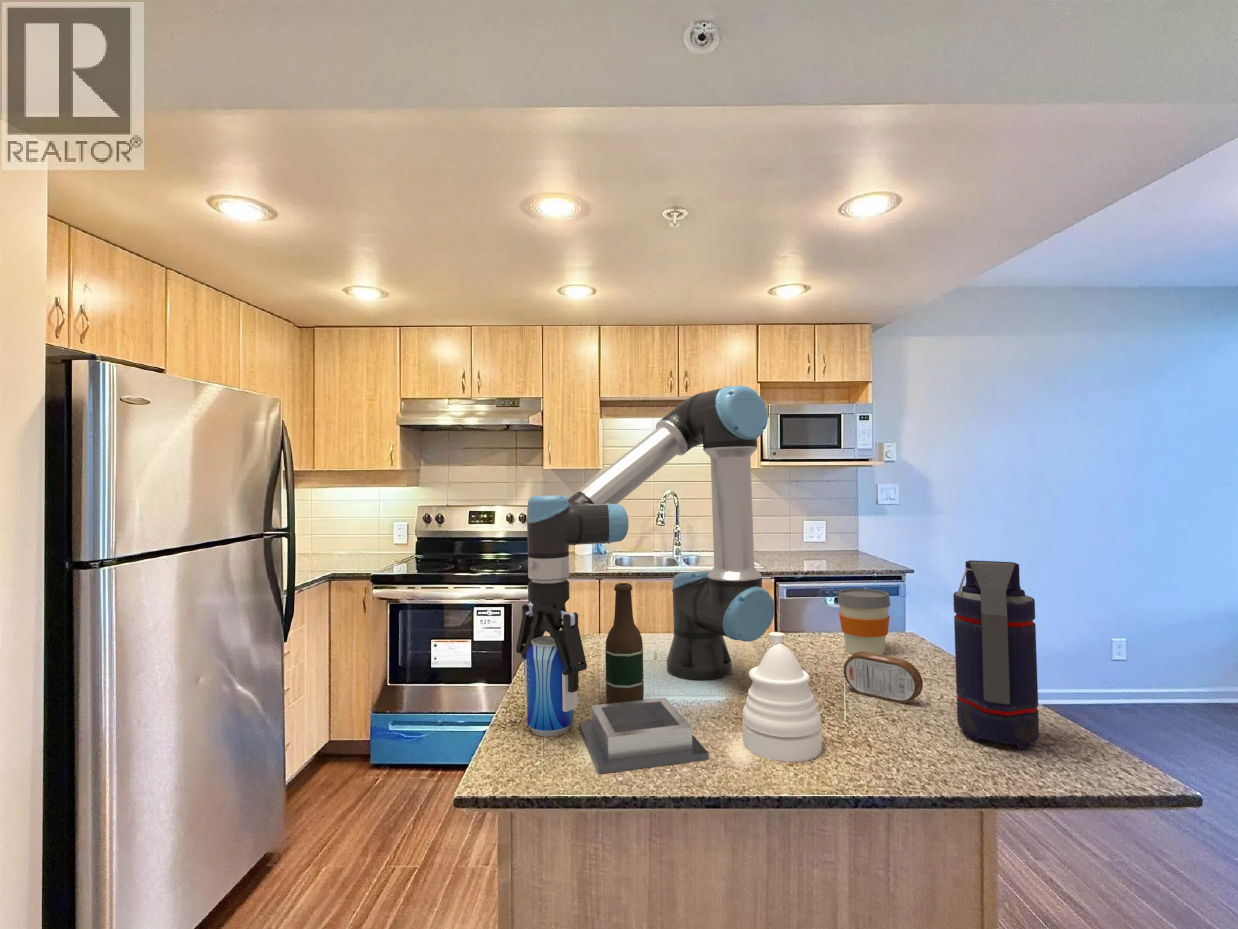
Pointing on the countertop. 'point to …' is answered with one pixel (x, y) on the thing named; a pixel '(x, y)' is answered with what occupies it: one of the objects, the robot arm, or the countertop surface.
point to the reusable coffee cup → (864, 619)
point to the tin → (883, 677)
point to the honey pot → (781, 708)
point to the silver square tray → (639, 736)
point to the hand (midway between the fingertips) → (550, 701)
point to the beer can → (546, 689)
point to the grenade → (996, 655)
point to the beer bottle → (624, 652)
